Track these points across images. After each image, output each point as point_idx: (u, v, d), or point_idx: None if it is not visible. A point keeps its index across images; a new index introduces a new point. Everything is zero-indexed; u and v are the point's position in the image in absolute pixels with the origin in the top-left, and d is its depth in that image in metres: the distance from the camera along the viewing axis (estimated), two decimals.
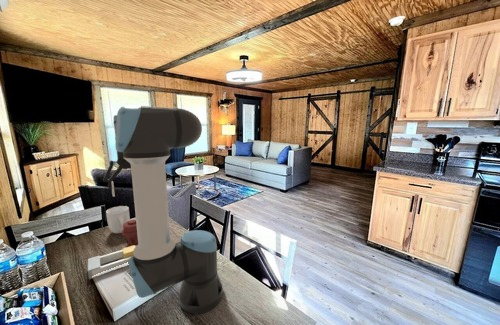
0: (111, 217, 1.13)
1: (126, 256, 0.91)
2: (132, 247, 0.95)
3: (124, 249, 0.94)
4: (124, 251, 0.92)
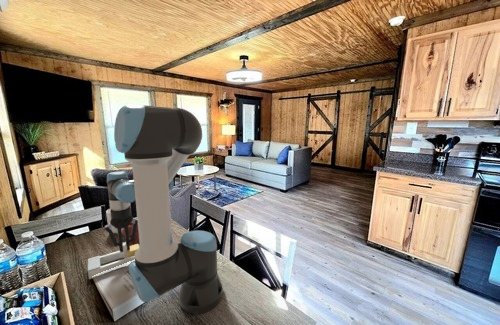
0: None
1: (130, 254, 0.92)
2: (135, 246, 0.96)
3: None
4: None
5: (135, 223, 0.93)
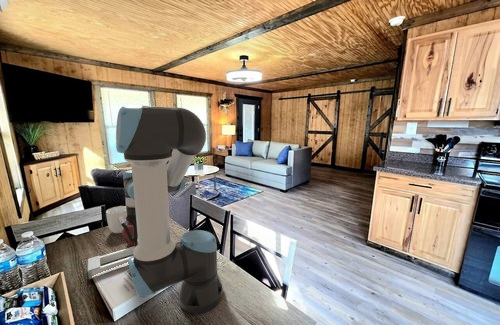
0: (111, 217, 1.13)
1: None
2: None
3: None
4: None
5: None
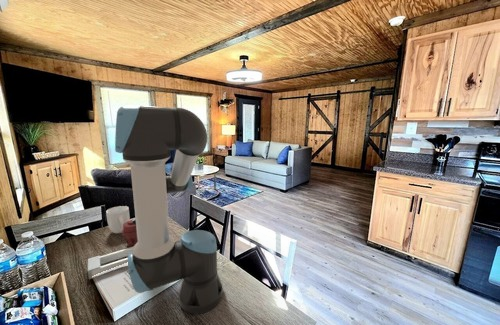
0: (111, 217, 1.13)
1: None
2: None
3: None
4: None
5: None
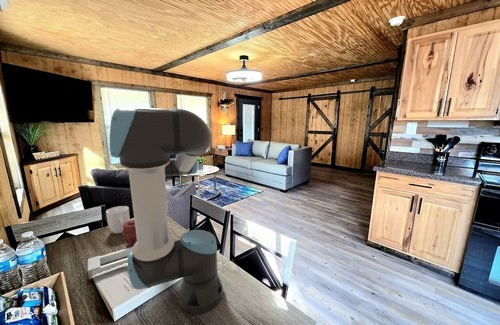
0: (111, 217, 1.13)
1: None
2: None
3: None
4: None
5: None
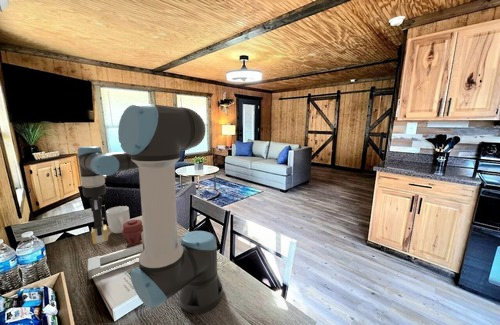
0: (111, 217, 1.13)
1: (94, 235, 0.83)
2: (103, 226, 0.88)
3: None
4: (93, 230, 0.85)
5: (92, 208, 0.79)
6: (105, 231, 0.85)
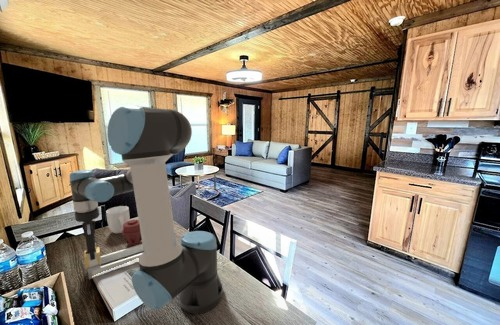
0: (111, 217, 1.13)
1: (87, 259, 0.83)
2: None
3: (86, 251, 0.85)
4: (85, 254, 0.84)
5: (85, 233, 0.79)
6: (98, 254, 0.85)
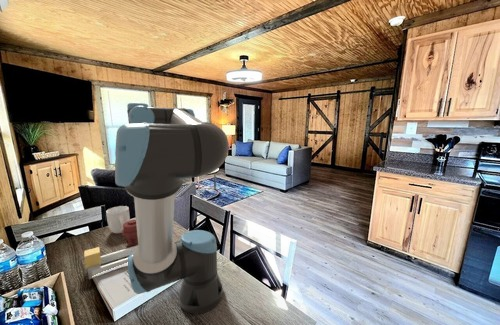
0: (111, 217, 1.13)
1: (87, 259, 0.83)
2: (95, 249, 0.87)
3: (86, 251, 0.85)
4: (85, 254, 0.84)
5: None
6: (98, 254, 0.85)
